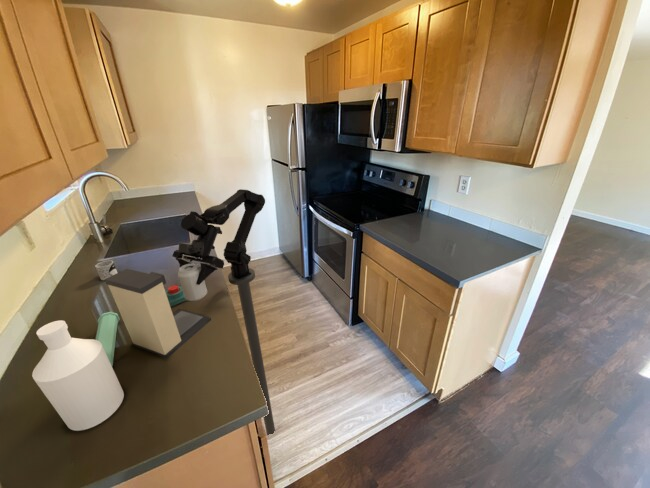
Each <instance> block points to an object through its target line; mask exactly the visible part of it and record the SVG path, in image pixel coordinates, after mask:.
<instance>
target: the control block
mask: <svg viewBox="0 0 650 488" xmlns="http://www.w3.org/2000/svg"><path fill="white" fill-rule="evenodd" d="M177 286H178V287H179V291H178V292H177V293H174V294H170V293H169V291H168V289H165V292H166V295H167V298H168V301H169V304H170V307H174V306H177V305H179V304H181V303H183V302H185V301H187V300H186V299H185V296H184V293H183V290H182V287H181V285H177Z"/></svg>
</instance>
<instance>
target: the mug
mask: <svg viewBox="0 0 650 488" xmlns="http://www.w3.org/2000/svg"><path fill="white" fill-rule="evenodd" d="M94 267H95V269H96V271H97V274H98V276H99V279H100V280H101V281H105V280H104V279H106V278H109V277H111V276H113V275H115V274H117V273H119V272H118V269H117V268H116V265H115V262H114V260H111V259H109V260H103V261H100V262H98V263H96V264H95V265H94Z"/></svg>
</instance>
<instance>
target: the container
mask: <svg viewBox="0 0 650 488" xmlns="http://www.w3.org/2000/svg"><path fill="white" fill-rule="evenodd" d="M120 320H121V319H120V316H119V314H118V313H116V312H113V311H107V312H104V313H101V314H100V315H99V317H98V319H97V323H98V326H97V331H96V335H95V340H98V341H100V343H101V344H102V346H103V348H104V350H105V353H106V355H107V357H108V359H109V361H110V364H111V366H112V367H113V366H114V365H113V364H114V357H115V347H116V339H117V332H118V324H119V322H120Z"/></svg>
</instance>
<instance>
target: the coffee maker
mask: <svg viewBox="0 0 650 488" xmlns="http://www.w3.org/2000/svg"><path fill="white" fill-rule="evenodd" d="M103 281H104V282H105V284H106V285H107V286H108V288H109V291H110V293H111V295H112V297H113V300H114V302H115V304H116V307H117V309H118V312H119V314H120V316H121V319H122V320H123V323H124V326H125V328H126V331H127V333H128V335H129V337H130V340H131V344H132V346H133V347H137V348H139V349H142V350H145V351H147V352H150V353H152V354H155V355H157V356H160V357H163V358H166V359H169V358H170V357H171V356H172V355H173V354H174V353H175V352H177V350H178V349H180V348H181V347H182V346H183V345H184V344H186V343H187V342H188V341H189V340H190V339H191V338H193V337H194V336H195V335H196V334H197V333H198V332H199V331H200V330H202V329H203V328H204V327H205V326H206V325H208V324H209V323H210V322H211V321H212V317H210V316H207V315H204V314H200V313H196V312H193V311H190V310H186V309H183V308H177V309H176V310H174V311H173V310H172V308H171V307H172V306H171V307H170V304H169V301H168V298H167V295H166V292H165V291H166V289H165V286H164V285H166V284H167V280H166V277H165V275H164V274H163V273H157V272H155V271H154V272H153V271H151V272H150V273H148V272H143V271H139V270H136V269H131V268H125V269H123V270H121V271H119V272H118V273H117V274H115V275H113V276H111V277H109V278H106V279H104V280H103Z"/></svg>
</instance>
